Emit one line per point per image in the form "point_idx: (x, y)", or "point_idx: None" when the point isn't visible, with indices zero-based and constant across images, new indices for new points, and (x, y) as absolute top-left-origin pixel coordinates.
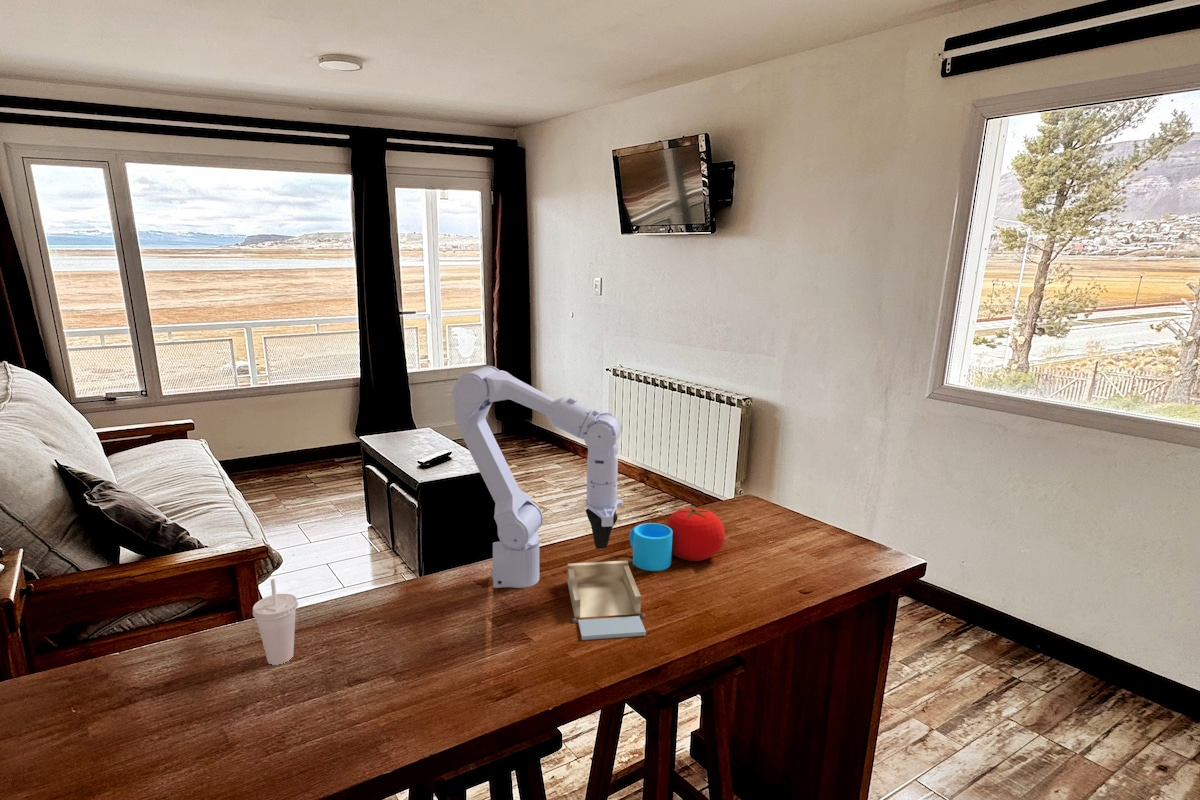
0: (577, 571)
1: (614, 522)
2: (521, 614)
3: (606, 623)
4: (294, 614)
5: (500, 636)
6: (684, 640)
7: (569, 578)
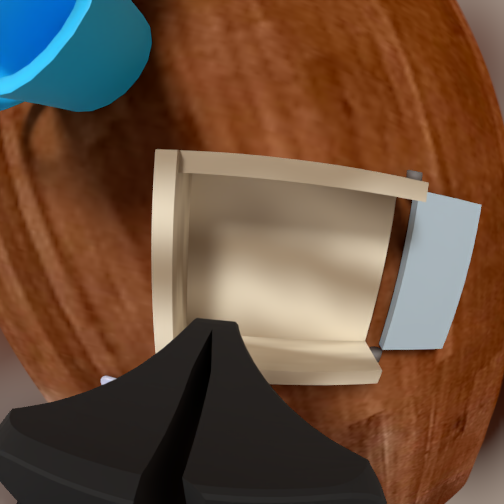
0: None
1: (344, 456)
2: None
3: (424, 289)
4: None
5: None
6: (480, 116)
7: None
